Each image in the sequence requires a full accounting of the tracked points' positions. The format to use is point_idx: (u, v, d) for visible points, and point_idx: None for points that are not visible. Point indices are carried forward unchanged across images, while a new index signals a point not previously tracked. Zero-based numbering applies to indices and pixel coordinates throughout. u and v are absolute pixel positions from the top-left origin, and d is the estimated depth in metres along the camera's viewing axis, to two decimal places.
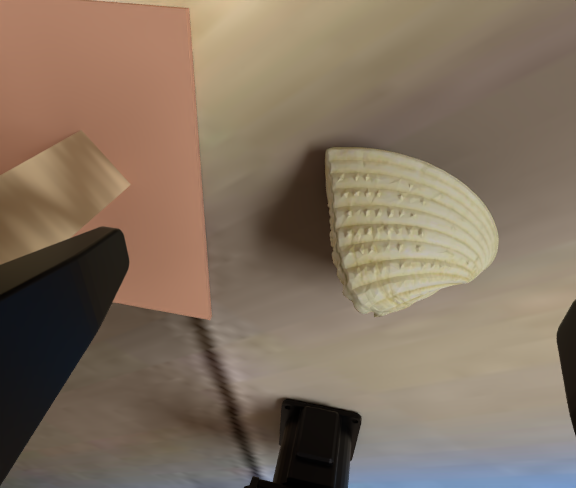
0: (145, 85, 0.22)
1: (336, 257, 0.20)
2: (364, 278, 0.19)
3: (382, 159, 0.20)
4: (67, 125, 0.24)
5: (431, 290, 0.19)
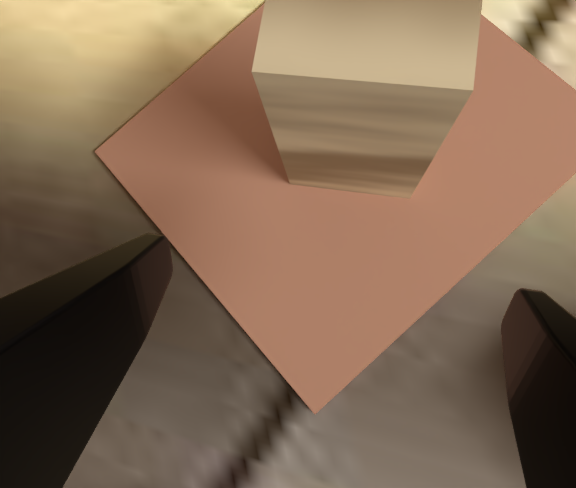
0: (527, 143, 0.21)
1: None
2: None
3: None
4: None
5: None
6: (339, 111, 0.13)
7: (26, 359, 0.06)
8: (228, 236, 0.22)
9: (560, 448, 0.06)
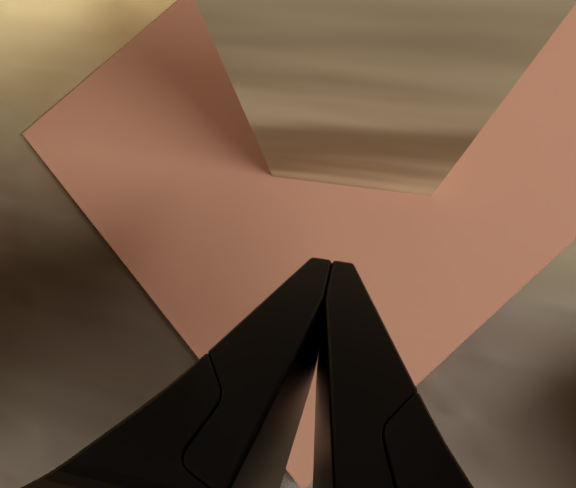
0: None
1: None
2: None
3: None
4: None
5: None
6: (336, 48, 0.08)
7: (277, 410, 0.05)
8: (190, 245, 0.16)
9: (319, 401, 0.06)
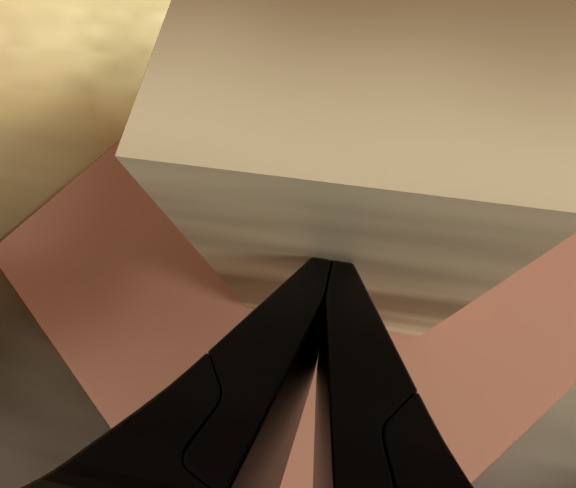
0: None
1: None
2: None
3: None
4: None
5: None
6: (305, 231, 0.07)
7: (277, 410, 0.05)
8: (162, 382, 0.15)
9: (319, 401, 0.06)
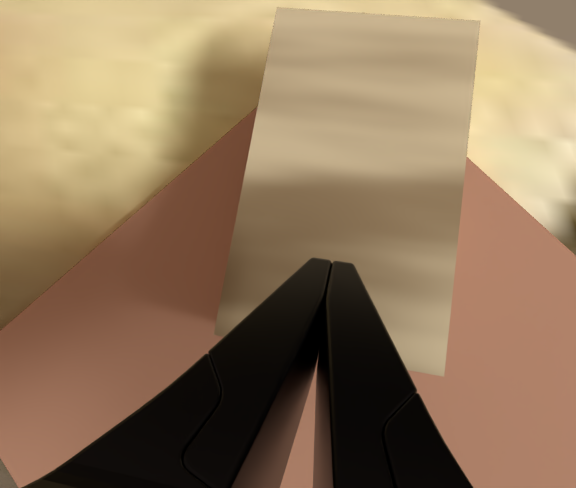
0: None
1: None
2: None
3: None
4: None
5: None
6: (349, 67, 0.12)
7: (277, 410, 0.05)
8: None
9: (319, 401, 0.06)
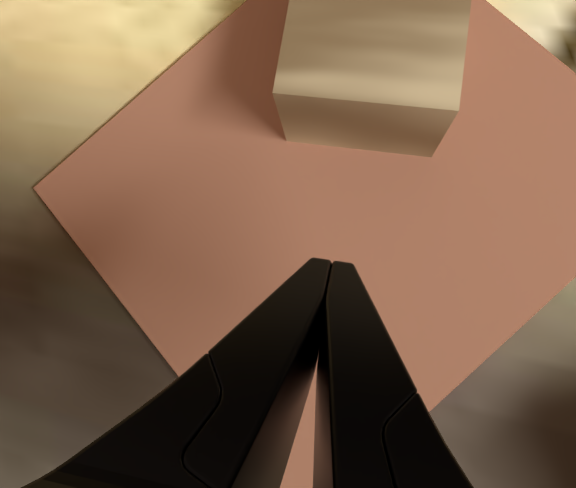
0: (568, 186, 0.16)
1: None
2: None
3: None
4: None
5: None
6: None
7: (277, 410, 0.05)
8: (193, 298, 0.17)
9: (319, 401, 0.06)
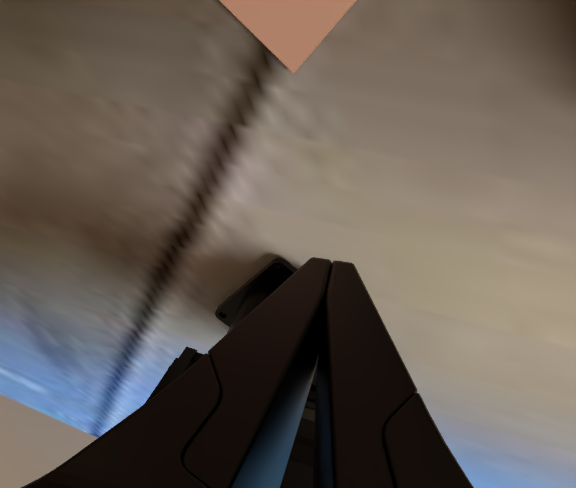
0: None
1: None
2: None
3: None
4: None
5: None
6: None
7: (277, 410, 0.05)
8: None
9: (319, 401, 0.06)
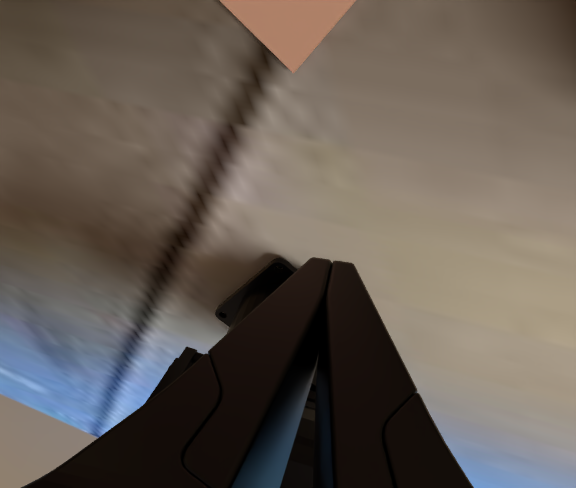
0: None
1: None
2: None
3: None
4: None
5: None
6: None
7: (277, 410, 0.05)
8: None
9: (319, 401, 0.06)
